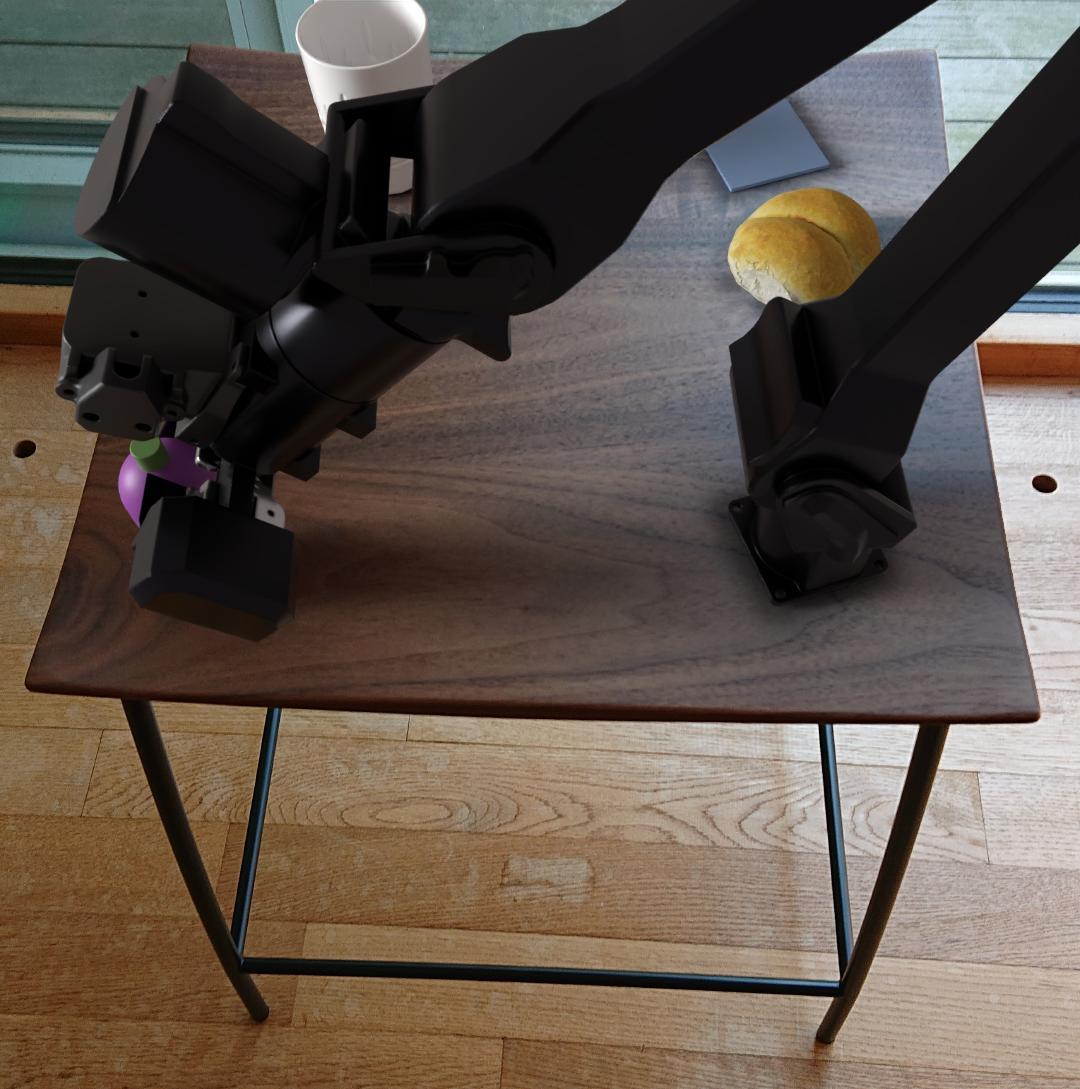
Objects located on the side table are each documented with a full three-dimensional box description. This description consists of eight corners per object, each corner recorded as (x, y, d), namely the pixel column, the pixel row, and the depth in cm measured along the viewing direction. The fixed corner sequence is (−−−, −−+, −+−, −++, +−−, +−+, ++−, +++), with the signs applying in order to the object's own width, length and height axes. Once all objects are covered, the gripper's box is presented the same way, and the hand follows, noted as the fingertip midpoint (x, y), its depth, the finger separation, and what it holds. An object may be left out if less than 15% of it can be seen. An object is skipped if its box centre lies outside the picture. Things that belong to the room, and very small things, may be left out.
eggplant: (266, 590, 57) (201, 471, 47) (183, 614, 56) (100, 498, 47) (251, 522, 59) (187, 394, 49) (171, 544, 58) (89, 420, 49)
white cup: (316, 140, 74) (281, 4, 66) (425, 110, 75) (405, -27, 67) (346, 216, 70) (314, 82, 62) (461, 183, 72) (445, 48, 63)
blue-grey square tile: (829, 167, 71) (830, 163, 71) (730, 192, 70) (731, 189, 70) (785, 101, 75) (786, 98, 74) (690, 124, 74) (691, 121, 74)
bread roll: (897, 256, 67) (915, 206, 64) (811, 338, 64) (824, 291, 61) (790, 194, 70) (801, 143, 67) (702, 270, 67) (709, 221, 64)
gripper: (173, 63, 42) (18, 279, 52) (89, 460, 33) (-81, 632, 42) (404, 209, 49) (229, 376, 58) (389, 572, 39) (183, 699, 49)
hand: (149, 502), depth 52 cm, fingers open, 5 cm apart
